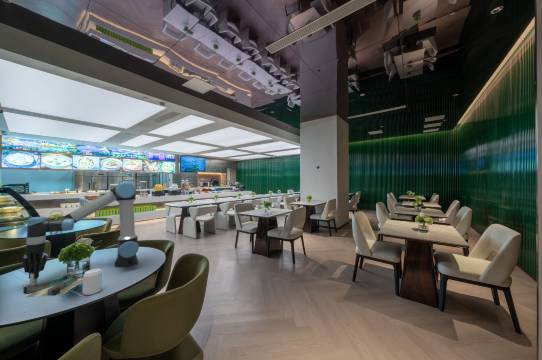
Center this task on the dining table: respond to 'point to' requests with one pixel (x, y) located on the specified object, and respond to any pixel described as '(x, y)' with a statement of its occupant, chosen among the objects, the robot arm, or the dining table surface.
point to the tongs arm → (46, 284)
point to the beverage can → (92, 281)
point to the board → (44, 291)
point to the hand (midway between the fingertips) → (33, 284)
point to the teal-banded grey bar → (62, 285)
